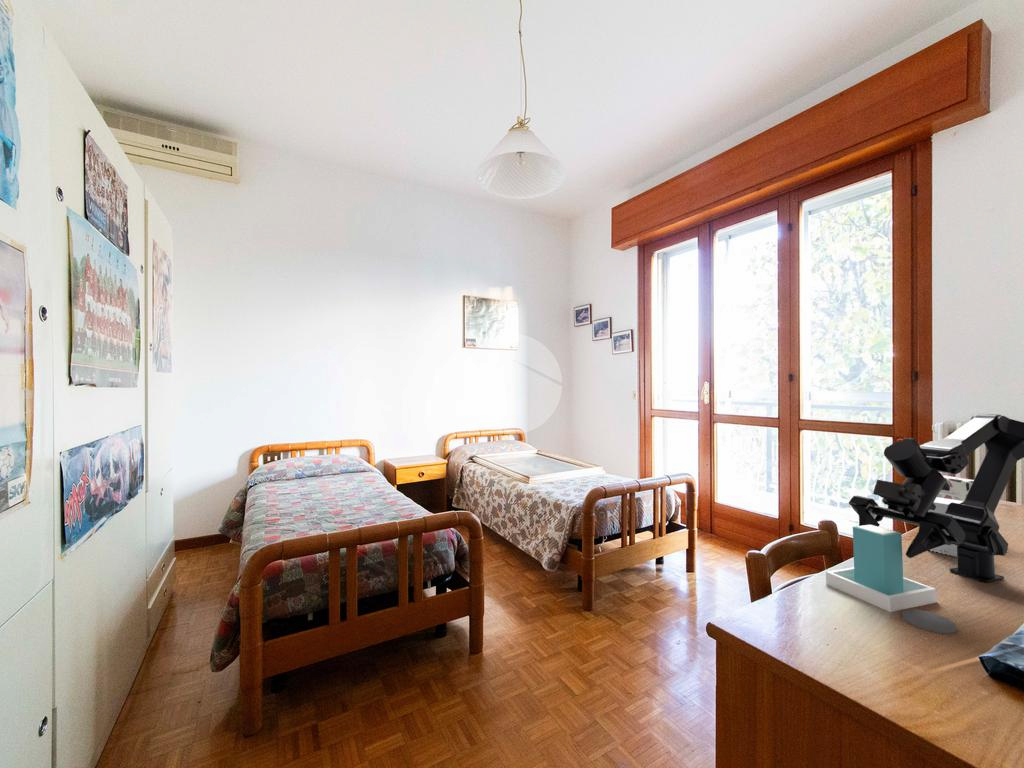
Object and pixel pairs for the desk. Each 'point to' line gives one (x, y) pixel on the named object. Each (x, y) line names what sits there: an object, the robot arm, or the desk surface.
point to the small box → (942, 508)
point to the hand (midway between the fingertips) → (882, 548)
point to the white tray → (910, 598)
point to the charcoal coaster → (929, 621)
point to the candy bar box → (956, 488)
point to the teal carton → (878, 559)
